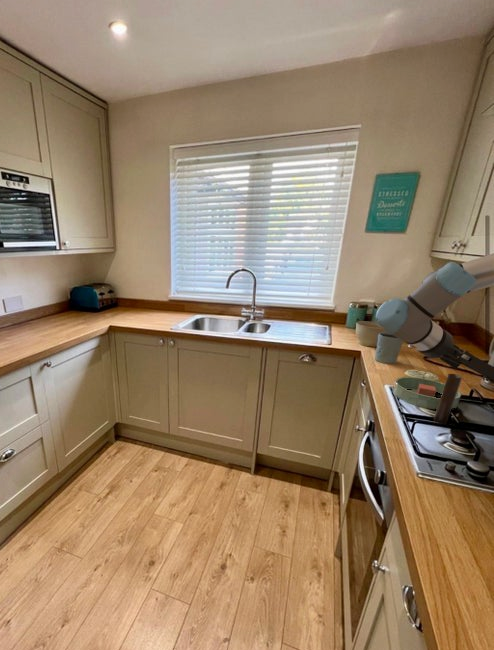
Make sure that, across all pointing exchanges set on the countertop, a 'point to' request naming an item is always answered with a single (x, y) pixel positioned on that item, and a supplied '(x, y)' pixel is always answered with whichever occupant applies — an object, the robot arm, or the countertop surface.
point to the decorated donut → (421, 375)
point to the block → (426, 390)
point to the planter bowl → (368, 332)
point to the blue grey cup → (388, 348)
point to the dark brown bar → (447, 398)
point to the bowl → (418, 399)
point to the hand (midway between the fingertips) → (480, 373)
